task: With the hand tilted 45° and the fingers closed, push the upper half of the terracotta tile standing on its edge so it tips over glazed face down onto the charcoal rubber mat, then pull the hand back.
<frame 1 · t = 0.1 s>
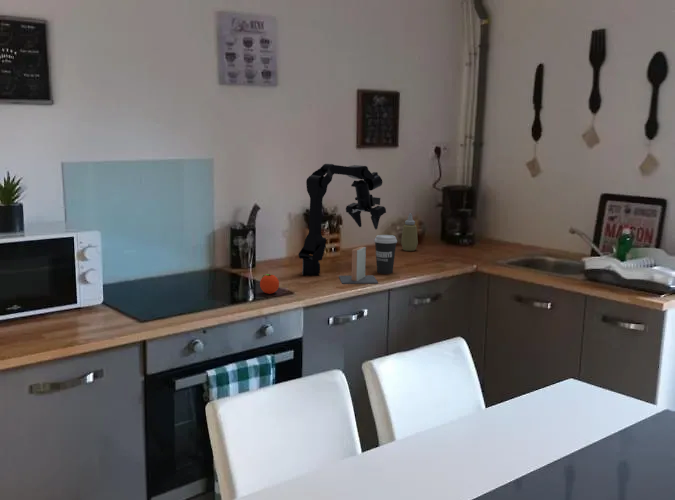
hand: (368, 228, 305), 15 cm above the countertop, tool pointing down, fingers open, 9 cm apart
mat: (358, 280, 275), on the countertop
squeeze bottle: (409, 250, 339), on the countertop
tile: (358, 263, 274), point 6 cm above the countertop, touching mat
coffee cup: (384, 272, 290), on the countertop
clementine: (268, 293, 253), on the countertop
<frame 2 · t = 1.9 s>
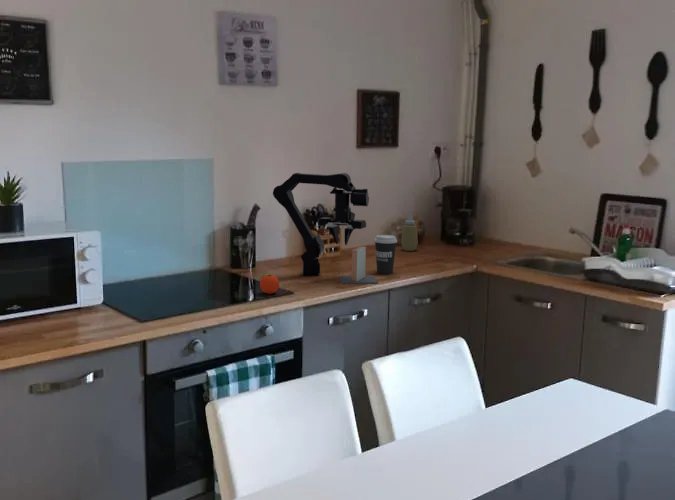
hand: (341, 244, 279), 13 cm above the countertop, tool pointing down, fingers open, 4 cm apart
nothing on the countertop moved.
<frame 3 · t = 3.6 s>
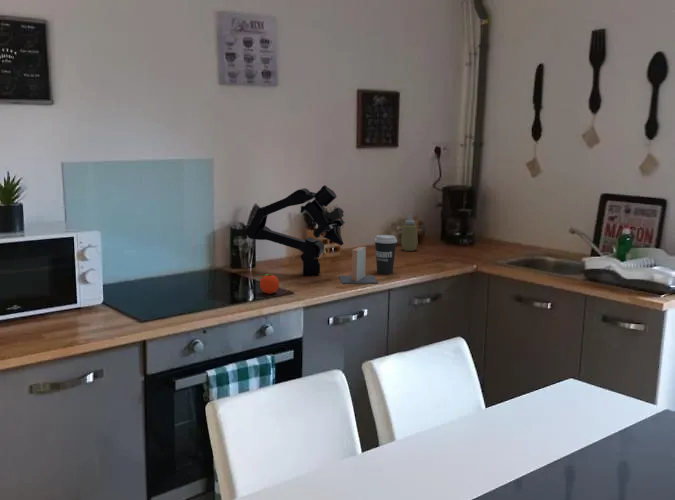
hand: (342, 244, 276), 13 cm above the countertop, tool tilted 45°, fingers closed
nothing on the countertop moved.
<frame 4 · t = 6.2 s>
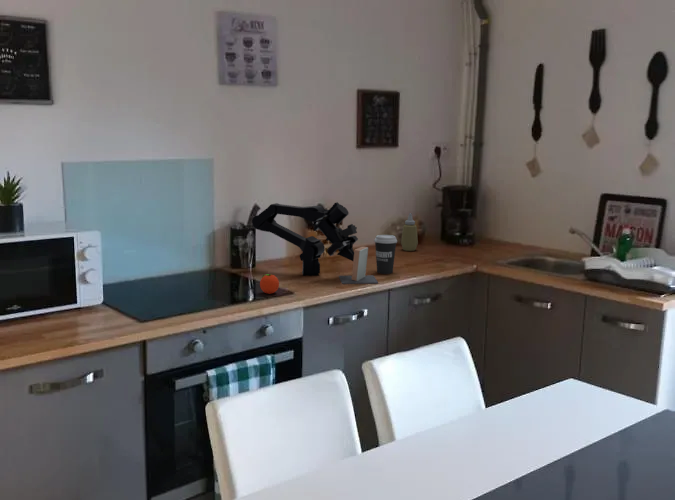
hand: (356, 261, 274), 7 cm above the countertop, tool tilted 45°, fingers closed, pressing on tile
tile: (359, 263, 274), point 7 cm above the countertop, touching gripper, mat
everything else where it was.
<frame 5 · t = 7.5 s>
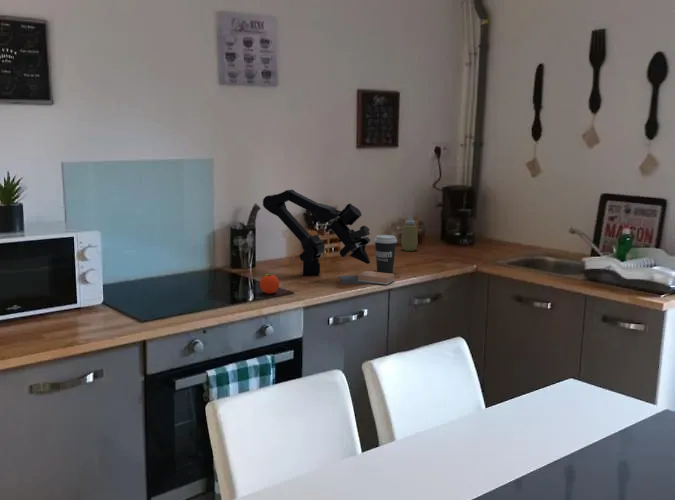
hand: (369, 263, 272), 7 cm above the countertop, tool tilted 45°, fingers closed
tile: (376, 277, 272), point 2 cm above the countertop, tilted 90°, touching mat
everything else where it was.
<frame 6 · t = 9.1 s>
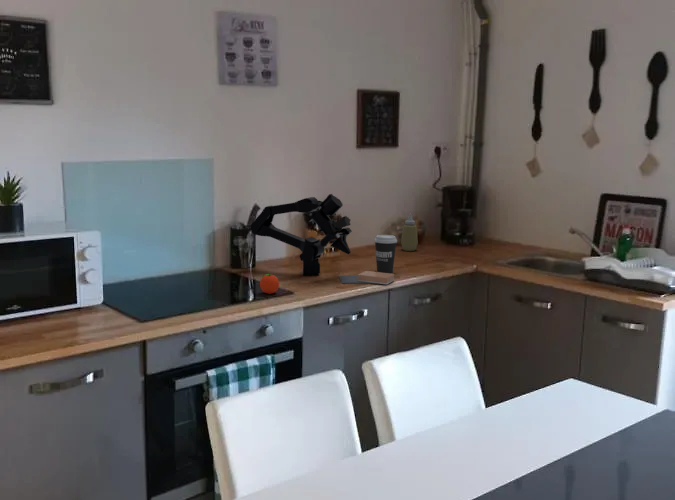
hand: (349, 253, 275), 10 cm above the countertop, tool tilted 45°, fingers closed
nothing on the countertop moved.
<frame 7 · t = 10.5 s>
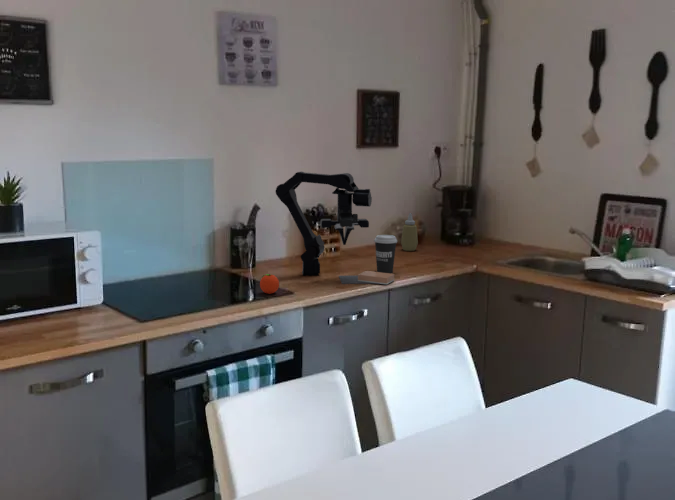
hand: (344, 244, 278), 13 cm above the countertop, tool pointing down, fingers closed
nothing on the countertop moved.
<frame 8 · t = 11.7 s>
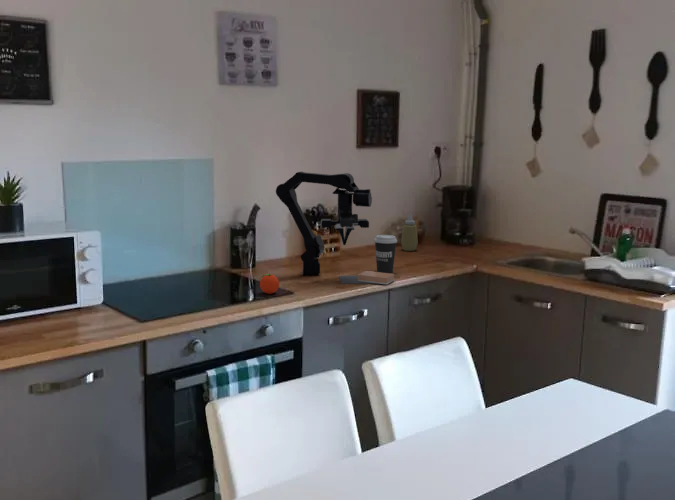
hand: (344, 244, 278), 13 cm above the countertop, tool pointing down, fingers closed
nothing on the countertop moved.
at the end: tile tilted 90°; tile inside the target area (1.5 cm from its centre), point 1.7 cm above the countertop; tile touching mat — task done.
